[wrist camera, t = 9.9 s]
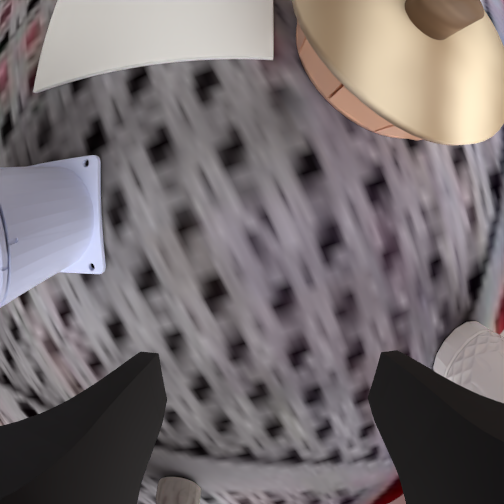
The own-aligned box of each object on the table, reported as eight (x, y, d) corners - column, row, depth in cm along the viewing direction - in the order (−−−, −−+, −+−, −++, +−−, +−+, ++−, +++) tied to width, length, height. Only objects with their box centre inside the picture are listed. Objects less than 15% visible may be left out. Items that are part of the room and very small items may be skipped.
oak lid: (303, 130, 12) (333, 106, 7) (279, -73, 8) (286, -117, 4) (514, 161, 12) (562, 165, 7) (469, -16, 8) (500, -36, 4)
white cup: (415, 388, 22) (464, 459, 12) (445, 315, 20) (519, 377, 10) (467, 378, 22) (516, 432, 12) (495, 313, 20) (558, 358, 10)
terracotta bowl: (296, 125, 16) (315, 105, 11) (292, -25, 13) (303, -65, 8) (458, 153, 17) (503, 151, 12) (439, 15, 13) (470, -6, 9)
